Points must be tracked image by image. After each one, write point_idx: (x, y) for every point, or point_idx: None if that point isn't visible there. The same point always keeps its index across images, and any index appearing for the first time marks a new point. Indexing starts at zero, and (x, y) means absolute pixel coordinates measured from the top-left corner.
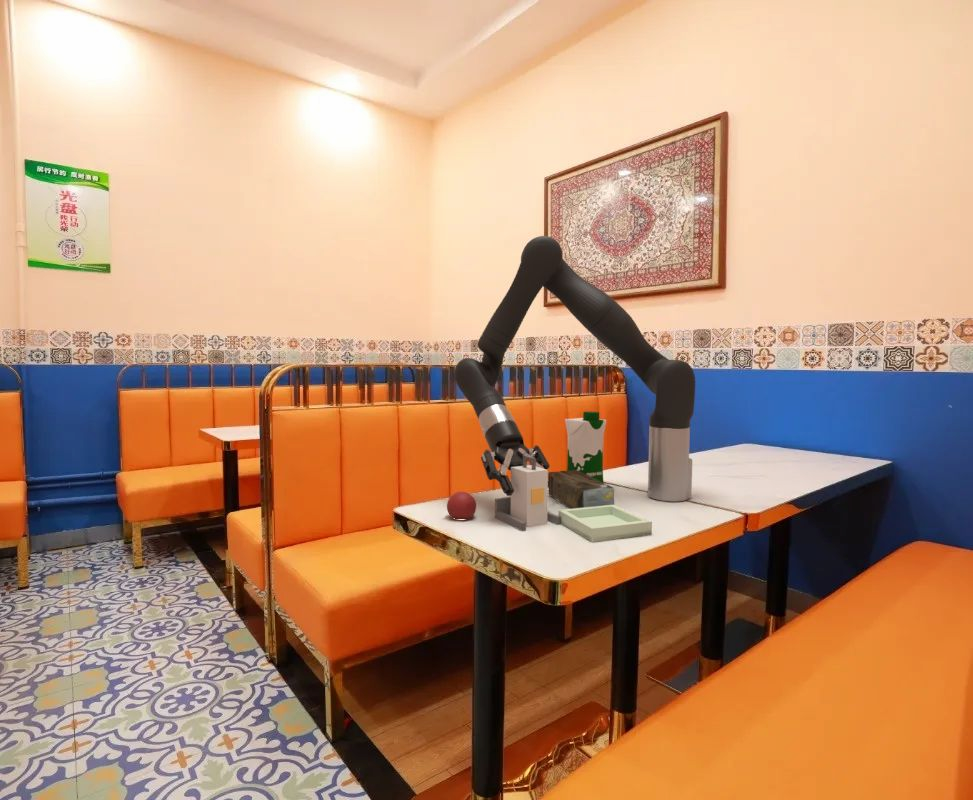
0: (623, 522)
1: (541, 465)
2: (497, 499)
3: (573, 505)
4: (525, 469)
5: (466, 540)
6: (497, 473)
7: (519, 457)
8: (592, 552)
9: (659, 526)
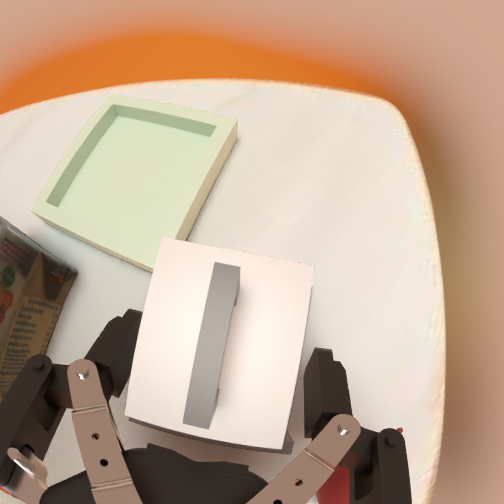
0: (95, 157)
1: (37, 414)
2: (291, 441)
3: (48, 323)
4: (261, 338)
5: (440, 316)
6: (367, 438)
7: (161, 493)
8: (281, 114)
9: (65, 132)
